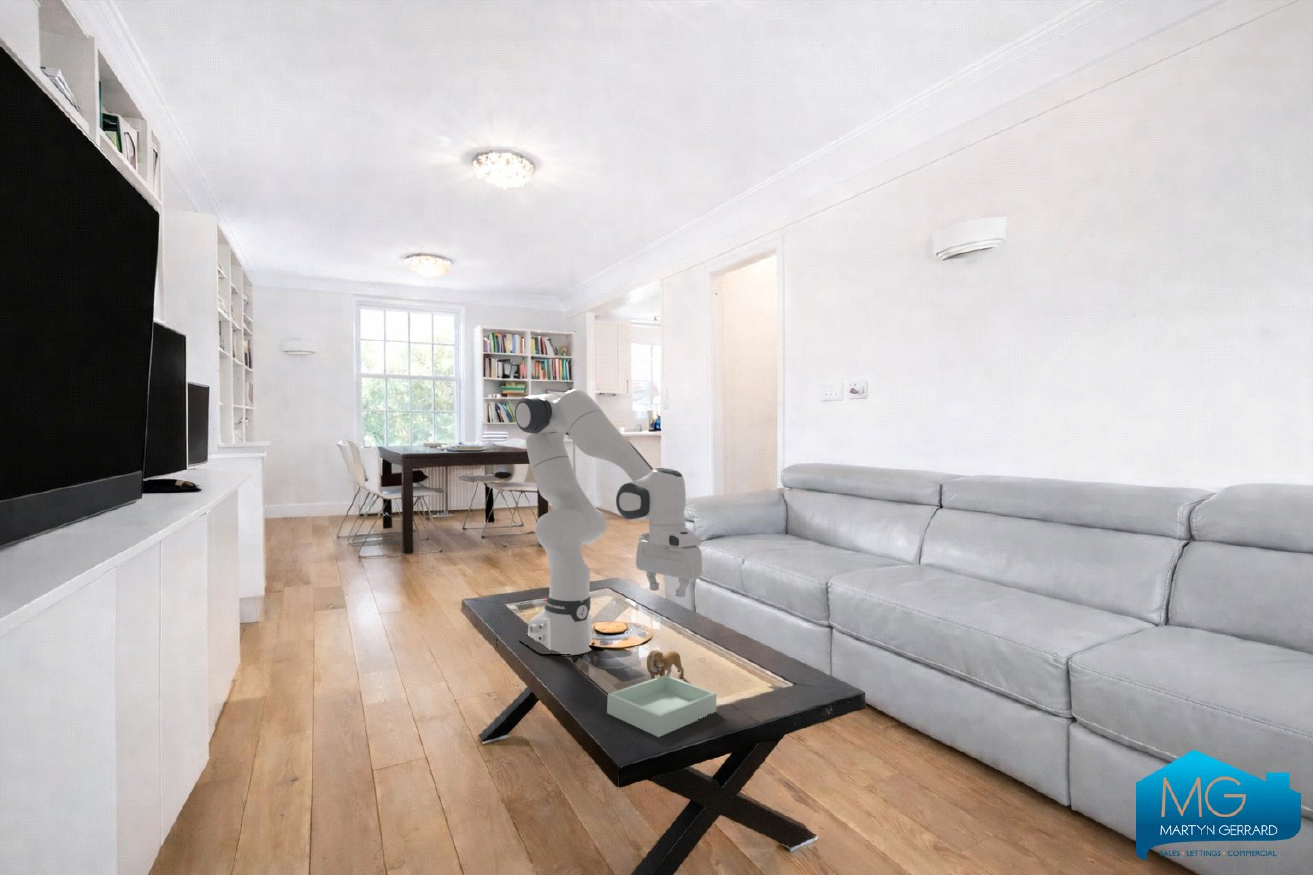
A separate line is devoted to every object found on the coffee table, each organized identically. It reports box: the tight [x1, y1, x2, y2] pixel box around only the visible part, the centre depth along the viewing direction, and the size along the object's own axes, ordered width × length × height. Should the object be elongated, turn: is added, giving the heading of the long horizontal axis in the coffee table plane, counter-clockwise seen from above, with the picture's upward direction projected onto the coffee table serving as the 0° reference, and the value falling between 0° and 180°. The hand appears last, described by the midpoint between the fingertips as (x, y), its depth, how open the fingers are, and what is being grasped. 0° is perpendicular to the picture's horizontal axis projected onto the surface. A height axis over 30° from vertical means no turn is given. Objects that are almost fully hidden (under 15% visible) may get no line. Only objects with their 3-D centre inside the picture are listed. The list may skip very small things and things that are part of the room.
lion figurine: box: [646, 649, 685, 680], centre depth 153 cm, size 15×5×9 cm, turn 151°
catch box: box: [606, 674, 718, 738], centre depth 135 cm, size 15×18×4 cm
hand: (667, 593), depth 152 cm, fingers open, 8 cm apart
